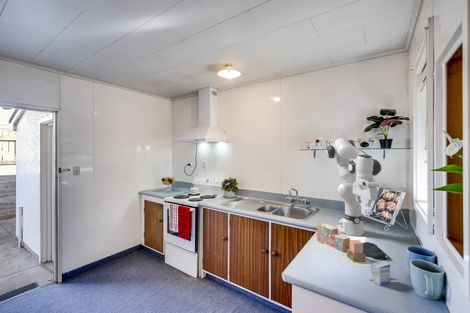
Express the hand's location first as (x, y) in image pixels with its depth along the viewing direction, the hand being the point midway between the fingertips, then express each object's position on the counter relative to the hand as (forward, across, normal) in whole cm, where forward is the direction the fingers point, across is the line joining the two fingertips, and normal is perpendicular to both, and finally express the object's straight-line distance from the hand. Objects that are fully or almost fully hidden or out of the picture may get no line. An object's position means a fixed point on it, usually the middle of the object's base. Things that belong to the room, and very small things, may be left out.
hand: (363, 204), depth 131 cm
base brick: (+30, +6, -7) cm, 31 cm away
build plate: (+31, +6, -7) cm, 32 cm away
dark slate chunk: (+32, -4, +8) cm, 33 cm away
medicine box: (+31, +26, -6) cm, 41 cm away
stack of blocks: (+32, -13, -12) cm, 36 cm away
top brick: (+26, +6, -7) cm, 28 cm away
